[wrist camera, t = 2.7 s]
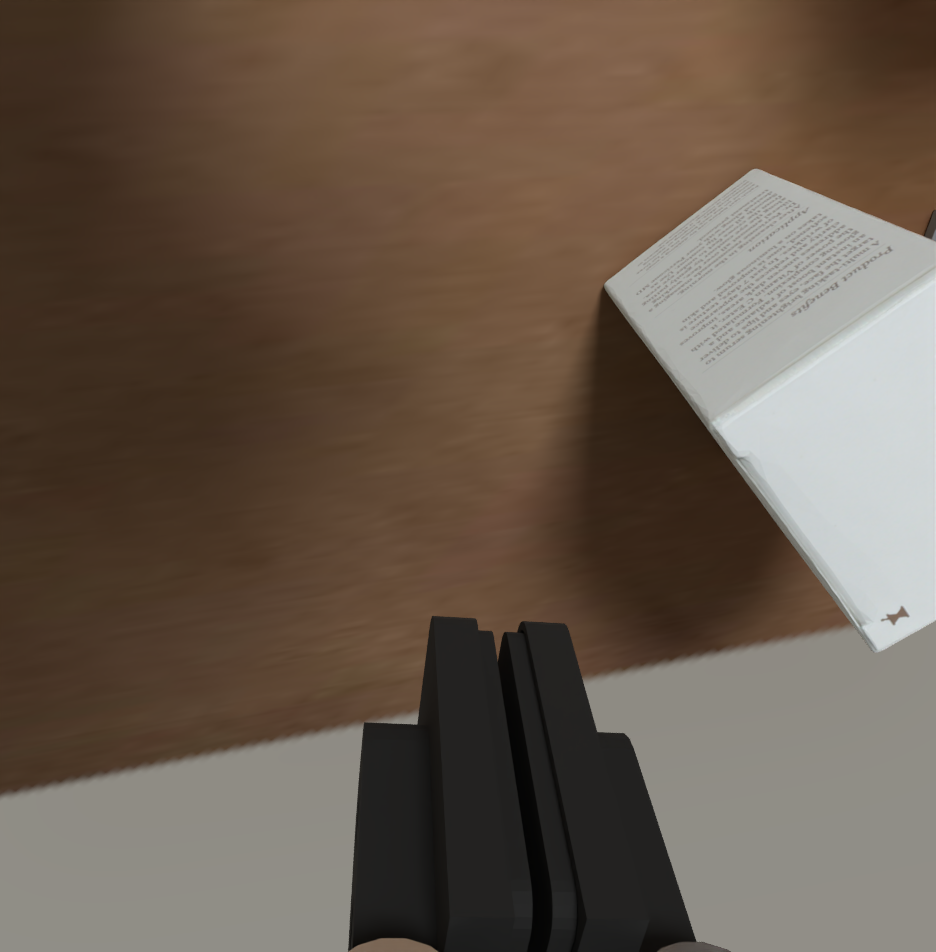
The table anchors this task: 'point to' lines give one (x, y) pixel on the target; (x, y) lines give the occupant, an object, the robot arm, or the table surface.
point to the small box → (810, 379)
